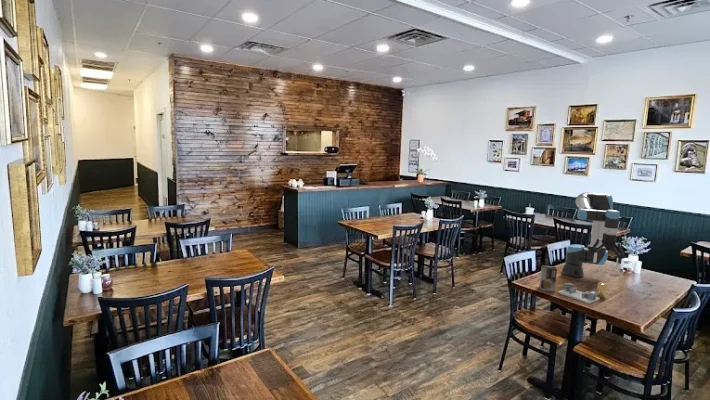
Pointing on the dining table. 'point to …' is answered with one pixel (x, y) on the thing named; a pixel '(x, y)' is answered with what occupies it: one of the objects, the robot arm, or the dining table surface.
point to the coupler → (601, 290)
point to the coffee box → (548, 278)
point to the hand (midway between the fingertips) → (605, 265)
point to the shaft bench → (579, 294)
